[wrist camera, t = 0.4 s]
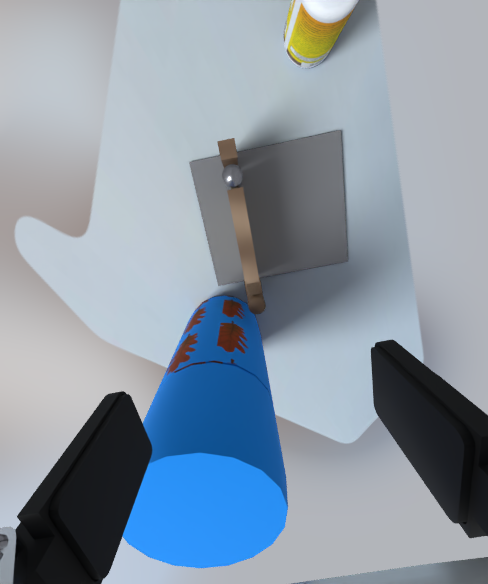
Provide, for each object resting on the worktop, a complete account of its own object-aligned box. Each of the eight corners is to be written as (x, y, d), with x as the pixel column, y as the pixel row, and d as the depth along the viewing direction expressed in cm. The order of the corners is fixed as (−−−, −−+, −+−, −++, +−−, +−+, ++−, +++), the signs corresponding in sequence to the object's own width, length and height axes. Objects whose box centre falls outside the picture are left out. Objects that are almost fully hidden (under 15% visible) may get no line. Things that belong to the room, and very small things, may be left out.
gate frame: (189, 162, 31) (172, 146, 23) (339, 131, 30) (376, 102, 22) (221, 297, 37) (216, 321, 29) (347, 273, 36) (378, 292, 28)
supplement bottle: (335, 61, 28) (387, -18, 18) (288, 77, 28) (314, 8, 18) (327, -1, 26) (380, -126, 16) (277, 16, 26) (299, -96, 17)
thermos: (175, 320, 38) (68, 507, 14) (229, 280, 36) (212, 417, 12) (219, 367, 41) (192, 588, 17) (271, 332, 39) (324, 525, 15)
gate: (224, 176, 30) (220, 166, 23) (240, 173, 30) (240, 162, 23) (244, 278, 35) (246, 296, 28) (258, 276, 35) (263, 292, 28)
